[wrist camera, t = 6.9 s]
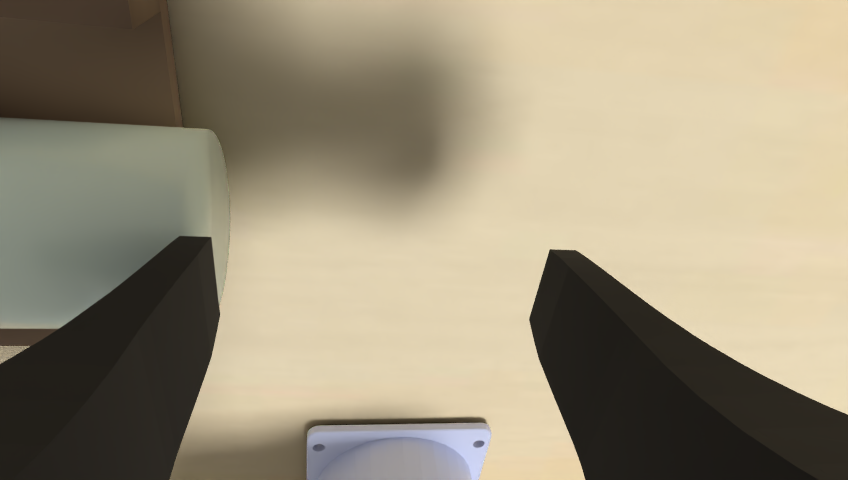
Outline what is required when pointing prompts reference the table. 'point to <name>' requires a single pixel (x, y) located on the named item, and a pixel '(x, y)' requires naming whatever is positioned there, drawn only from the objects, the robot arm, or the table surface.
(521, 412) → the table surface
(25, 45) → the walnut cradle
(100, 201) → the sage bottle
